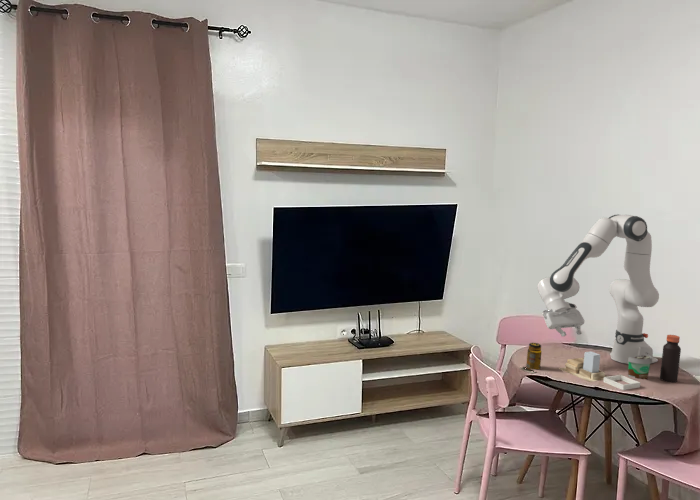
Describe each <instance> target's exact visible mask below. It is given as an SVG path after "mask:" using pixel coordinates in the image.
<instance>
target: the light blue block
mask: <svg viewBox="0 0 700 500" xmlns="http://www.w3.org/2000/svg"><path fill="white" fill-rule="evenodd" d="M583 356H584V357H583V358H584V364H583V369H584V370H587V371H589V372H591V373H598V372H599V370H600V362H601V354H599V353H596V352H594V351H585V352H584V354H583Z"/></svg>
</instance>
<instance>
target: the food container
mask: <svg viewBox="0 0 700 500" xmlns="http://www.w3.org/2000/svg"><path fill="white" fill-rule="evenodd" d="M628 362H629V364H627V365H628V366H627V368H628V369H627V373H628V374H627V375H628V376H627V377H628V378H632V379H633V378H634V379H640V380H642V379H644V380H646V381H647V380H648V378H649V372H650V367H651V364H653V363H652V358H651V356H649V355H647V354H645V356H642V357H640V356H637V357H635V358H632V357H629V358H628Z"/></svg>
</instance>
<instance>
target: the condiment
mask: <svg viewBox="0 0 700 500" xmlns="http://www.w3.org/2000/svg"><path fill="white" fill-rule="evenodd" d="M526 354H527V355H526V365H525V366H522V367H519V369H520V370H521V371H524V372H528V373H530V374H535V373H536V372H534V371H536V370H540V369H541V363H542V344H541V343H538V342H530V343H529V344H528V348H527V353H526ZM526 367H527V368H526ZM525 368H526V369H525ZM531 371H533V372H531Z"/></svg>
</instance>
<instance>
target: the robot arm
mask: <svg viewBox="0 0 700 500" xmlns="http://www.w3.org/2000/svg"><path fill="white" fill-rule="evenodd" d="M616 237H617V238H621V239H625V241H626V247H625V252H624V254H625V255H624V261H623V262H624V263H623V268H624V271H625V272H626V273H627V275H628V277H629V279H625V278H622V279H620V278H619V279H614V280H613V281H611V283H610V285H609V289H608V290H609V294H610V296H611V297H612V298H613V300H614V302H615V306H616V310H617V324H616V330H615V339H614V341H613V344H612V349H611V352H610V353H609V355H610V358H611V360H613V361H615V362H618V363H620V364H621V363H622V364H626V365H628V364H629V362H628V358H629V357H632V358H635V357H637V356H640V357H642V356H645V354H647V355H649V356H651V358H652V363H651V364H653V363H657V362H658V361H659V359H658V358H656V357H654V355H653V354H654V350H653V347H651V346H650V345H649V344H648V343H647V342H646V341H645V339H648V337H649V333H645V332H644V333H643V327H644V316H643V314H642V312H640V311H639V308H638V307H641V308H652V307H654V306H655V305H656V304H657V303H658V302H659V299H660V294H659V291H658V289H657V288H656V287H655V285H654V283H653V280H652V277H651V271H650V270H651V269H650V268H651V259H652V251H653V250H652V249H653V248H652V247H653V245H652V243H653V242H652V235H651V233H650V232H649V231H648V224H647V222H646V220H645V219H644V218H642V217H640V216H637V215H631V214H614V215H613V214H612V215H610V216H609V217H600V218H599V219H598V220H596V222H595V223H594V224H593V225H592V227H590V229H589V230H588V231H587V233H586V235H585V236H584V237H583V239H582V240H581V242H580V243H579V244H578V245H577V246H576V247H575V249H574V250H573V251H572V252H571V254H570V255H569V256H568V257H567V259H566V260H565V262H564V263H563V264H562V265H561V266H560V267H559V268H557V269H556V270H554V271H553V272H552V273H551V274H550V276H548V277H547V276H546V277H544V278H542V279H541V280H539V282H538V283H537V288H536V289H537V291H538V293H539V297H540V298H541V300H542V302H544V304H545V308H546V309H544V310H543V311H542V313H541V314H542V316H543V320H544V322H545V324H546V327H547V328H548V329H549V330H556V332H557V333H559V335H561V337H562V338H564V337H566V336H567V333H566V331H564V330H563V329H566V328H567V329H568V328H574V329H576V331H575V334H576V335H577V336H580V335H582V334H583V331H582V330H581V328H582V326H583V325H584V324H585V318H584V316H583V315H582V314H581V312H580V310H579V309H578V307H577V305H576V304H574V303H571V302H568V301H565V299H569V298H572V297H574V296H576V295H577V294H579V293H578V292H580V284H579V282H578V281H577V280H576V278H575V274H576V272H577V271H578V269H579V268H580V267H581V266H582V264H583V263H584V262H585V261H586V260H587V259H589V258H598V257H601V256H602V255H603V254H604V253H605V252H606V251H607V249H608V248H609V246H610V245H611V243H612V242H613V240H614V238H616Z"/></svg>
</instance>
